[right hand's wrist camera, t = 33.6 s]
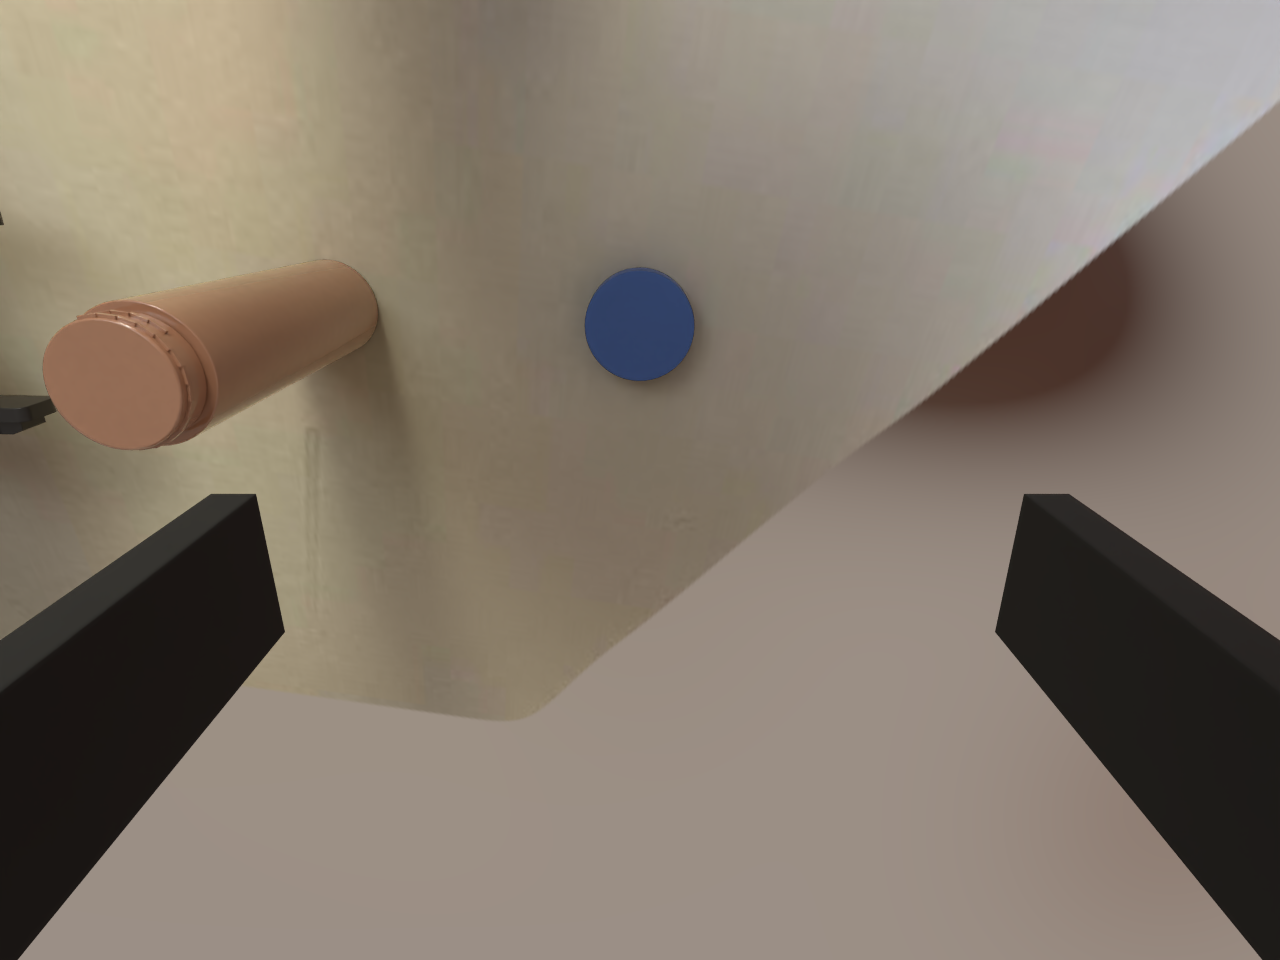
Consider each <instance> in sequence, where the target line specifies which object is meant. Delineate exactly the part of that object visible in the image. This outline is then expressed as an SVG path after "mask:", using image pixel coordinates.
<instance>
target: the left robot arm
mask: <svg viewBox="0 0 1280 960" xmlns="http://www.w3.org/2000/svg"><path fill="white" fill-rule="evenodd" d="M0 225H4V223H3V220H2V216H1V213H0ZM54 412H56V408H55V405H54V404H53V402H52V400H51V398H50V396H18V395H0V434H16V433H18V432H21V431H23V430H26V429H29V428H31V427H34V426H37V425H39V424H41V423H44V422H46V421H45V418H44V416H46V415H49V414H51V413H54Z"/></svg>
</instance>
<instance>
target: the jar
mask: <svg viewBox="0 0 1280 960" xmlns="http://www.w3.org/2000/svg"><path fill="white" fill-rule="evenodd" d="M377 320H378V308H377V303H376V299H375V296H374V294H373V291H372V289H371V288H370V286H369V284H368V283H367V282H366V280H365V279H364V278H363V277H362V276H361V275H360V274H359V273H358V272H356V271H355V270H354V269H352V268H351V267H349V266H347V265H345V264H343V263H340V262H337V261H333V260H315V261H310V262H305V263H300V264H295V265H290V266H285V267H280V268H275V269H270V270H265V271H260V272H255V273H249V274H244V275H239V276H234V277H229V278H224V279H219V280H214V281H209V282H204V283H199V284H194V285H189V286H184V287H179V288H174V289H169V290H164V291H159V292H154V293H149V294H144V295H138V296H133V297H128V298H123V299H118V300H113V301H109V302H104V303H102V304H99V305H97V306H95V307H93V308H91V309H90V310H88V311H87V312H86V313H84V314H83V315H79V316H77V320H75V321H73V322H71V323H69V324H67V325H66V326H64V327H62V328H61V329H60V330H59V331H58V332H57V333H56V334H55V335H54V336H53V338H52V339H51V340H50V342H49V344H48V346H47V348H46V351H45V354H44V359H43V376H44V382H45V386H46V389H47V391H48V394H49V396H50V398H51V400H52V402H53V404H54V405H55V407H56V409H57V410H58V412H59V413H60V414H61V415H62V416H63V418H64V419H65V420H66V421H67V422H68V423H69V424H70V425H71V426H72V427H73V428H75V429H76V430H77V431H78V432H80V433H81V434H83V435H84V436H86V437H87V438H89V439H91V440H93V441H95V442H97V443H99V444H102V445H104V446H108V447H111V448H116V449H122V450H145V449H151V448H158V447H160V446H167V445H174V444H179V443H182V442H185V441H188V440H190V439H192V438H193V437H195V436H197V435H199V434H201V433H203V432H205V431H206V430H208V429H210V428H212V427H214V426H216V425H218V424H219V423H221V422H223V421H225V420H227V419H229V418H230V417H232V416H234V415H236V414H238V413H240V412H242V411H243V410H245V409H247V408H249V407H251V406H253V405H255V404H256V403H258V402H260V401H262V400H264V399H266V398H267V397H269V396H271V395H273V394H275V393H277V392H279V391H280V390H282V389H284V388H286V387H288V386H290V385H292V384H293V383H295V382H297V381H299V380H301V379H303V378H304V377H306V376H308V375H310V374H312V373H314V372H316V371H317V370H319V369H321V368H323V367H325V366H327V365H329V364H330V363H332V362H334V361H336V360H338V359H340V358H341V357H343V356H345V355H347V354H349V353H351V352H353V351H354V350H356V349H358V348H360V347H361V346H363V345H364V344H365V343H366V342H367V341H368V340H369V339H370V337H371V336H372V334H373V332H374V331H375V328H376V325H377Z"/></svg>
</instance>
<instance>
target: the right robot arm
mask: <svg viewBox="0 0 1280 960" xmlns="http://www.w3.org/2000/svg"><path fill="white" fill-rule="evenodd" d="M284 632H285V630H284V626H283V621H282V616H281V611H280V606H279V602H278V597H277V592H276V587H275V583H274V578H273V573H272V568H271V564H270V559H269V554H268V549H267V545H266V540H265V535H264V530H263V525H262V521H261V516H260V511H259V506H258V502H257V497H256V494H210V495H209V496H208V497H206V498H205V499H203V500H202V501H200V502H199V503H197V504H196V505H195V506H193V507H192V508H190V509H189V510H187V511H186V512H184V513H183V514H182V515H180V516H179V517H177V518H176V519H174V520H173V521H172V522H170V523H169V524H167V525H166V526H164V527H163V528H161V529H160V530H159V531H157V532H156V533H154V534H153V535H151V536H150V537H148V538H147V539H146V540H144V541H143V542H141V543H140V544H138V545H137V546H136V547H134V548H133V549H131V550H130V551H128V552H127V553H125V554H124V555H123V556H121V557H120V558H118V559H117V560H115V561H114V562H112V563H111V564H110V565H108V566H107V567H105V568H104V569H102V570H101V571H100V572H98V573H97V574H95V575H94V576H92V577H91V578H89V579H88V580H87V581H85V582H84V583H82V584H81V585H79V586H78V587H76V588H75V589H74V590H72V591H71V592H69V593H68V594H66V595H65V596H64V597H62V598H61V599H59V600H58V601H56V602H55V603H53V604H52V605H51V606H49V607H48V608H46V609H45V610H43V611H42V612H40V613H39V614H38V615H36V616H35V617H33V618H32V619H30V620H29V621H28V622H26V623H25V624H23V625H22V626H20V627H19V628H17V629H16V630H15V631H13V632H12V633H10V634H9V635H7V636H6V637H4V638H3V639H2V640H0V960H18V959H19V957H20V956H21V955H22V954H23V952H24V951H25V950H26V949H27V947H28V946H29V945H30V944H31V943H32V941H33V940H34V939H35V938H36V936H37V935H38V934H39V933H40V932H41V930H42V929H43V928H44V927H45V925H46V924H47V923H48V922H49V921H50V919H51V918H52V917H53V916H54V914H55V913H56V912H57V911H58V910H59V908H60V907H61V906H62V905H63V903H64V902H65V901H66V900H67V898H68V897H69V896H70V895H71V894H72V892H73V891H74V890H75V889H76V887H77V886H78V885H79V884H80V883H81V881H82V880H83V879H84V878H85V876H86V875H87V874H88V873H89V871H90V870H91V869H92V868H93V867H94V865H95V864H96V863H97V862H98V860H99V859H100V858H101V857H102V856H103V854H104V853H105V852H106V851H107V849H108V848H109V847H110V846H111V845H112V843H113V842H114V841H115V840H116V838H117V837H118V836H119V835H120V833H121V832H122V831H123V830H124V829H125V827H126V826H127V825H128V824H129V822H130V821H131V820H132V819H133V818H134V816H135V815H136V814H137V813H138V811H139V810H140V809H141V808H142V806H143V805H144V804H145V803H146V802H147V800H148V799H149V798H150V797H151V795H152V794H153V793H154V792H155V790H156V789H157V788H158V787H159V786H160V784H161V783H162V782H163V781H164V779H165V778H166V777H167V776H168V775H169V773H170V772H171V771H172V770H173V768H174V767H175V766H176V765H177V764H178V762H179V761H180V760H181V759H182V757H183V756H184V755H185V754H186V753H187V751H188V750H189V749H190V748H191V746H192V745H193V744H194V743H195V741H196V740H197V739H198V738H199V737H200V735H201V734H202V733H203V732H204V730H205V729H206V728H207V727H208V726H209V724H210V723H211V722H212V721H213V719H214V718H215V717H216V716H217V714H218V713H219V712H220V711H221V710H222V708H223V707H224V706H225V705H226V703H227V702H228V701H229V700H230V699H231V697H232V696H233V695H234V694H235V692H236V691H237V690H238V689H239V687H240V686H241V685H242V684H243V683H244V681H245V680H246V679H247V678H248V676H249V675H250V674H251V673H252V672H253V670H254V669H255V668H256V667H257V665H258V664H259V663H260V662H261V660H262V659H263V658H264V657H265V656H266V654H267V653H268V652H269V651H270V649H271V648H272V647H273V646H274V645H275V643H276V642H277V641H278V640H279V638H280V637H281V636H282V635H283V634H284ZM995 632H996V633H997V635H998V636H999V637H1000V638H1001V640H1002V641H1003V642H1004V643H1005V644H1006V646H1007V647H1008V648H1009V649H1010V651H1011V652H1012V653H1013V654H1014V656H1015V657H1016V658H1017V659H1018V660H1019V662H1020V663H1021V664H1022V665H1023V667H1024V668H1025V669H1026V670H1027V672H1028V673H1029V674H1030V675H1031V676H1032V678H1033V679H1034V680H1035V681H1036V683H1037V684H1038V685H1039V686H1040V687H1041V689H1042V690H1043V691H1044V692H1045V694H1046V695H1047V696H1048V697H1049V698H1050V700H1051V701H1052V702H1053V703H1054V705H1055V706H1056V707H1057V708H1058V710H1059V711H1060V712H1061V713H1062V714H1063V716H1064V717H1065V718H1066V719H1067V721H1068V722H1069V723H1070V724H1071V726H1072V727H1073V728H1074V729H1075V730H1076V732H1077V733H1078V734H1079V735H1080V737H1081V738H1082V739H1083V740H1084V741H1085V743H1086V744H1087V745H1088V746H1089V748H1090V749H1091V750H1092V751H1093V753H1094V754H1095V755H1096V756H1097V757H1098V759H1099V760H1100V761H1101V762H1102V764H1103V765H1104V766H1105V767H1106V768H1107V770H1108V771H1109V772H1110V773H1111V775H1112V776H1113V777H1114V778H1115V779H1116V781H1117V782H1118V783H1119V784H1120V786H1121V787H1122V788H1123V789H1124V791H1125V792H1126V793H1127V794H1128V795H1129V797H1130V798H1131V799H1132V800H1133V801H1134V803H1135V804H1136V805H1137V806H1138V808H1139V809H1140V810H1141V811H1142V813H1143V814H1144V815H1145V816H1146V818H1147V819H1148V820H1149V821H1150V822H1151V824H1152V825H1153V826H1154V827H1155V829H1156V830H1157V831H1158V832H1159V833H1160V835H1161V836H1162V837H1163V838H1164V840H1165V841H1166V842H1167V843H1168V845H1169V846H1170V847H1171V848H1172V849H1173V851H1174V852H1175V853H1176V854H1177V856H1178V857H1179V858H1180V859H1181V860H1182V862H1183V863H1184V864H1185V865H1186V867H1187V868H1188V869H1189V870H1190V872H1191V873H1192V874H1193V875H1194V876H1195V878H1196V879H1197V880H1198V881H1199V883H1200V884H1201V885H1202V886H1203V887H1204V889H1205V890H1206V891H1207V892H1208V894H1209V895H1210V896H1211V897H1212V898H1213V900H1214V901H1215V902H1216V903H1217V905H1218V906H1219V907H1220V908H1221V910H1222V911H1223V912H1224V913H1225V914H1226V916H1227V917H1228V918H1229V919H1230V921H1231V922H1232V923H1233V924H1234V925H1235V927H1236V928H1237V929H1238V930H1239V932H1240V933H1241V934H1242V935H1243V937H1244V938H1245V939H1246V940H1247V941H1248V943H1249V944H1250V945H1251V946H1252V948H1253V949H1254V950H1255V951H1256V952H1257V954H1258V955H1259V956H1260V957H1261V959H1262V960H1280V640H1278V639H1277V638H1276V637H1274V636H1273V635H1271V634H1270V633H1268V632H1267V631H1265V630H1264V629H1263V628H1261V627H1260V626H1258V625H1257V624H1255V623H1254V622H1252V621H1251V620H1249V619H1248V618H1247V617H1245V616H1244V615H1242V614H1241V613H1239V612H1238V611H1237V610H1235V609H1234V608H1232V607H1231V606H1229V605H1228V604H1227V603H1225V602H1224V601H1222V600H1221V599H1219V598H1218V597H1216V596H1215V595H1214V594H1212V593H1211V592H1209V591H1208V590H1206V589H1205V588H1203V587H1202V586H1201V585H1199V584H1198V583H1196V582H1195V581H1193V580H1192V579H1191V578H1189V577H1188V576H1186V575H1185V574H1183V573H1182V572H1180V571H1179V570H1178V569H1176V568H1175V567H1173V566H1172V565H1170V564H1169V563H1167V562H1166V561H1165V560H1163V559H1162V558H1160V557H1159V556H1157V555H1156V554H1155V553H1153V552H1152V551H1150V550H1149V549H1147V548H1146V547H1144V546H1143V545H1142V544H1140V543H1139V542H1137V541H1136V540H1134V539H1133V538H1132V537H1130V536H1129V535H1127V534H1126V533H1124V532H1123V531H1121V530H1120V529H1119V528H1117V527H1116V526H1114V525H1113V524H1111V523H1110V522H1108V521H1107V520H1106V519H1104V518H1103V517H1101V516H1100V515H1098V514H1097V513H1095V512H1094V511H1093V510H1091V509H1090V508H1088V507H1087V506H1085V505H1084V504H1082V503H1081V502H1080V501H1078V500H1077V499H1075V498H1074V497H1072V496H1071V495H1070V494H1024V497H1023V502H1022V506H1021V511H1020V516H1019V521H1018V526H1017V530H1016V535H1015V540H1014V545H1013V549H1012V554H1011V559H1010V564H1009V568H1008V573H1007V578H1006V583H1005V587H1004V592H1003V597H1002V602H1001V607H1000V611H999V616H998V621H997V626H996V630H995Z"/></svg>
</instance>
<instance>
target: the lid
mask: <svg viewBox="0 0 1280 960" xmlns="http://www.w3.org/2000/svg"><path fill="white" fill-rule="evenodd" d="M585 334H586V339H587V342H588V345H589V348H590V350H591V352H592V354H593V355H594V357H595V358H596V360H597V361H598V362H599V363H600V364H601V365H602V366H603V367H604V368H605V369H606V370H608V371H609V372H611V373H612V374H614V375H616V376H618V377H621V378H624V379H628V380H635V381H646V380H651V379H655V378H658V377H661V376H663V375H665V374H667V373H668V372H670V371H672V370H673V369H674V368H675V367H676V366H677V365H678V364H679V363H680V362H681V361H682V360H683V358H684V357H685V356H686V354H687V352H688V350H689V348H690V346H691V343H692V340H693V335H694V316H693V312H692V308H691V305H690V303H689V301H688V299H687V296H686V295H685V293H684V291H683V290H682V289H681V287H680V286H679V285H678V284H677V283H676V282H675V281H674V280H673V279H672V278H670V277H669V276H667V275H666V274H664V273H662V272H659V271H657V270H654V269H649V268H641V267H640V268H630V269H625V270H623V271H620V272H618V273H616V274H614V275H612V276H611V277H609V278H608V279H606V280H605V281H604V282H603V283H602V284H601V285H600V286H599V288H598V289H597V290H596V292H595V293H594V295H593V297H592V299H591V301H590V304H589V306H588V309H587V312H586V318H585Z"/></svg>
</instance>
